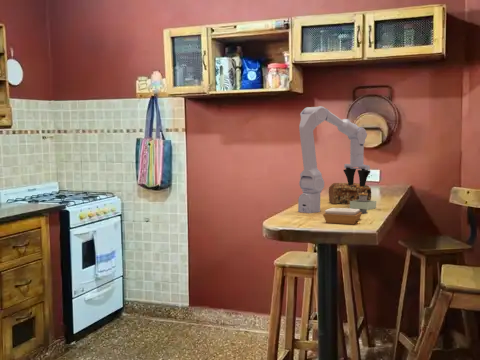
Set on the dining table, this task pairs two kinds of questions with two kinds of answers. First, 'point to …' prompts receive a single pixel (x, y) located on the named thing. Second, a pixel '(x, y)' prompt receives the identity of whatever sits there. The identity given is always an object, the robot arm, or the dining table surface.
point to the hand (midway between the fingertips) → (356, 185)
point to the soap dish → (342, 215)
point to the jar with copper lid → (363, 197)
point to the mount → (362, 210)
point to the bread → (347, 192)
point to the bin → (363, 204)
